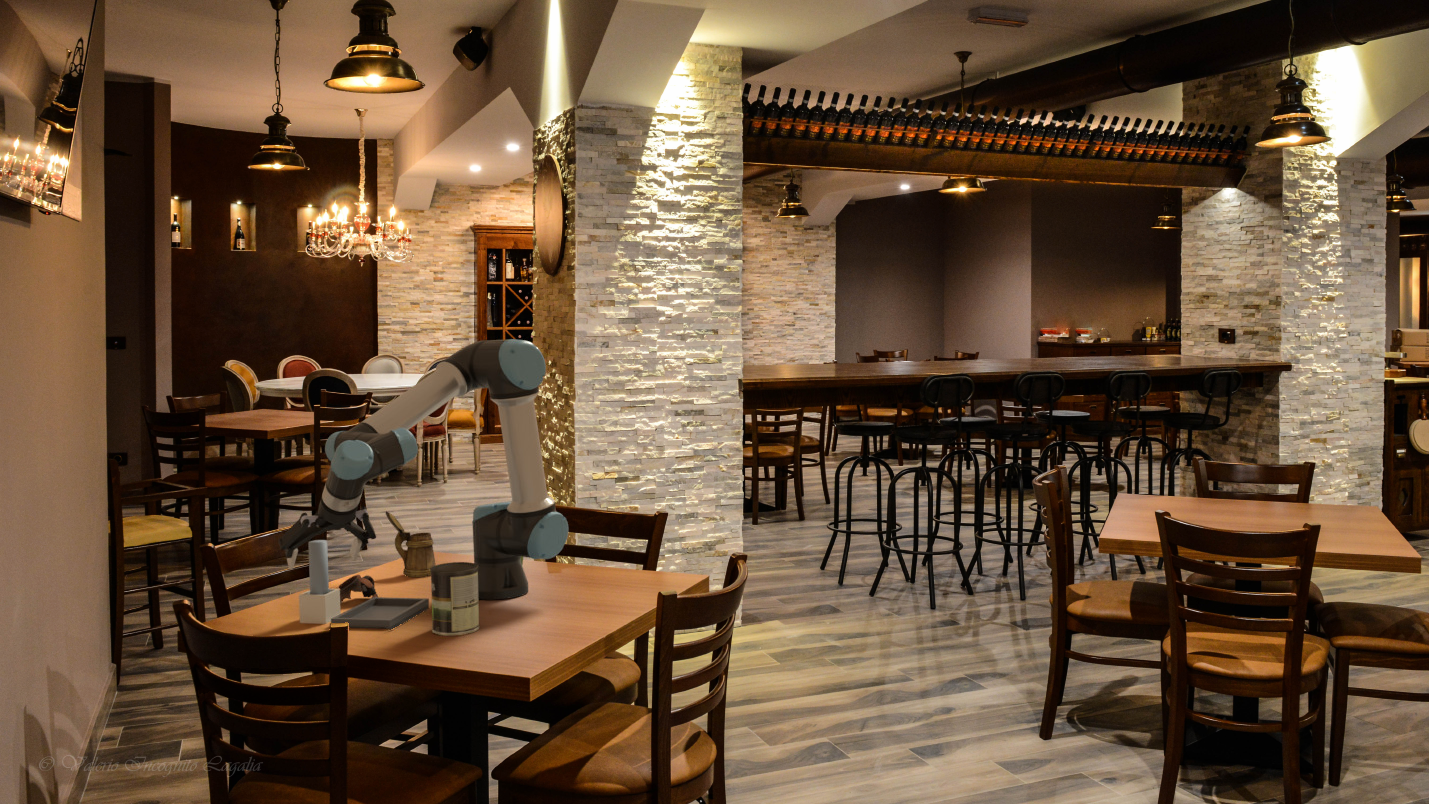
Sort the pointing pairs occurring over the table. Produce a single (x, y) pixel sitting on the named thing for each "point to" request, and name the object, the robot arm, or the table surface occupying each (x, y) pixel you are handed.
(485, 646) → the table surface
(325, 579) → the dowel
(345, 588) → the brown curved piece
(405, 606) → the tray
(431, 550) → the wooden mug
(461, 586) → the coffee can
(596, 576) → the table surface
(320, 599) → the cube pedestal base
